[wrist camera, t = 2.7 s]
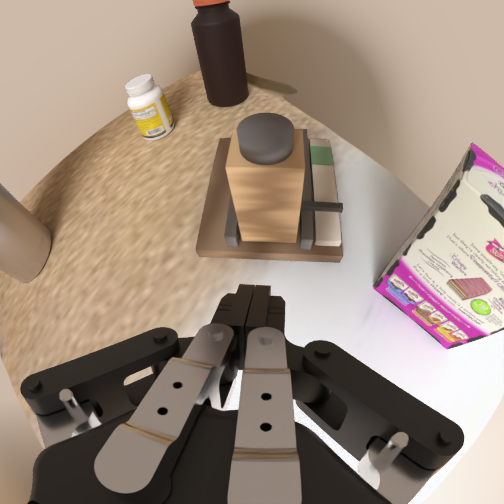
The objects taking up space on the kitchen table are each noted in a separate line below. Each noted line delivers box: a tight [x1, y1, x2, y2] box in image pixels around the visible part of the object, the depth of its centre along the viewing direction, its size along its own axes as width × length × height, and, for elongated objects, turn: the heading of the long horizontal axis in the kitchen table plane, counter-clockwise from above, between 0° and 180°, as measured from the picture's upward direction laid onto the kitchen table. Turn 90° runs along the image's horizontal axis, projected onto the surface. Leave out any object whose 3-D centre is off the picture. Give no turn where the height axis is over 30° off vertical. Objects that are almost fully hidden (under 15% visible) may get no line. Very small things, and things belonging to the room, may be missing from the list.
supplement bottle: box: [125, 74, 174, 140], centre depth 33 cm, size 5×5×10 cm
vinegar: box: [191, 0, 248, 107], centre depth 31 cm, size 7×7×20 cm
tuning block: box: [225, 113, 343, 243], centre depth 21 cm, size 9×4×12 cm, turn 85°
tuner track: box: [196, 129, 343, 262], centre depth 28 cm, size 14×16×4 cm
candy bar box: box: [373, 143, 504, 349], centre depth 16 cm, size 11×5×16 cm, turn 48°
